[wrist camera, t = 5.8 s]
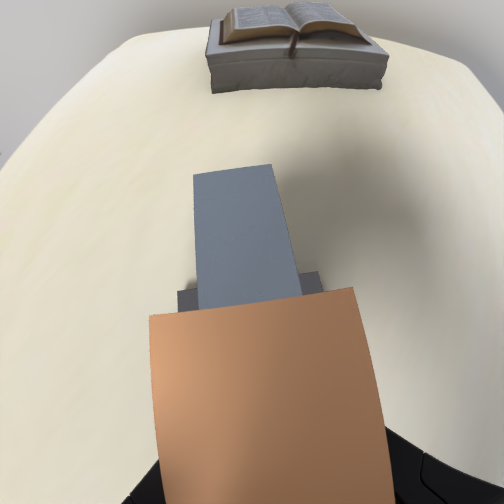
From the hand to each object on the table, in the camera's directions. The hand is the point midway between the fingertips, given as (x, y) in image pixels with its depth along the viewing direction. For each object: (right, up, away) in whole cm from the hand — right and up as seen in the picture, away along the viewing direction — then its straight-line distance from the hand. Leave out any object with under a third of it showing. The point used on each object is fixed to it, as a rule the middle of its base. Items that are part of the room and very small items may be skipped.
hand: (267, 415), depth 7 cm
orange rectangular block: (0, -2, +2) cm, 3 cm away
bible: (+6, +34, +34) cm, 48 cm away
